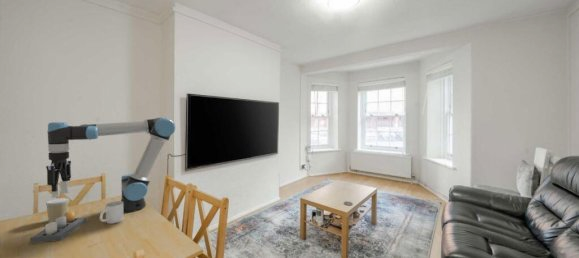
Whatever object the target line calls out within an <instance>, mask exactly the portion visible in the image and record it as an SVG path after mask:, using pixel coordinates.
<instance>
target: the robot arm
mask: <svg viewBox="0 0 579 258" xmlns="http://www.w3.org/2000/svg"><path fill="white" fill-rule="evenodd" d="M175 132H176V124H175V122H174V121H173V120H171V119H169V118H167V117H156V118H149V119H145V120H141V121H126V122H110V123H109V122H108V123H107V122H106V123H94V124H93V123H92V124H88V123H87V124H86V123H85V124H80V125H69V123H68V122H65V121H63V122H62V121H61V122H58V121H57V122H55V121H52V122H49V123H48V124H47V144H48V146H47V147H48V154H47V155H48V160H49V161H51V163H50V165H46V167H45V168H46V173H47V174H46V180H47V182H46V184H47V186H51V198H61V197H60V194H68V193H69V190H68V189H69V186H68V183H69V182H68V181H71V178H72V172H71V171H72V170H71V163H72V161H71V160H68V159H69V158H70V152H69V150H70V145H69V141H75V140H77V141H78V140H81V141H85V140H89V141H90V140H96V139H99V138H98V137H104V136H105V137H106V136H116V135H125V134H126V135H128V134H141V133H145V134H148V135H149V137H150V138H149V141H148V142H147V145H146V147H145V148H144V149H145V150H144V152H143V153H142V156H141V158H140V160H139V161H138V164H137V166H136V169H135V170H134V173H129V174H124V175H122V176H121V179H120V180H121V199H120V201H122V202H123V209H124V213H131V212H137V211H139V210H142V209H145V208H146V205H147V204H146V203H147V202H146V200H145V197H146V196H147V194H148V187H149V185H150V182H151V178H150V176H151V174H152V171H153V169H154V167H155V165H156V163H157V160H158V158H159V156H160V154H161V151H162V149H163V148H164V145H165V143H166V142H168V141H169V140H170V137H171V136H172V135H173V134H174V133H175ZM59 177H60V179H61V181H60V184H59Z"/></svg>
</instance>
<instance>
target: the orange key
mask: <svg viewBox="0 0 579 258" xmlns="http://www.w3.org/2000/svg"><path fill="white" fill-rule="evenodd" d="M75 213H76V212H75V211H74V210H72V211H68V212H67V213H65V216H66V223H71V222H74V221H75V218H76V217H75V216H76V214H75Z"/></svg>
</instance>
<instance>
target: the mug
mask: <svg viewBox="0 0 579 258" xmlns="http://www.w3.org/2000/svg"><path fill="white" fill-rule="evenodd" d="M124 213H125V212H124V209H123V202H122V201H121V200H117V201H112V202H109V203H107V204H105V208H104V209H102V210H101V211H100V213H99V220H100V222H103V223H104V222H105V223H107V224H111V225H112V224H117V223H120V222H121V221H123V220H124ZM104 214H105V218H104V217H103V216H104Z"/></svg>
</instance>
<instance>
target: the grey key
mask: <svg viewBox="0 0 579 258" xmlns="http://www.w3.org/2000/svg"><path fill="white" fill-rule="evenodd" d="M55 220H56V222H57V229H61V228H64V227H66V216H62V217H58V218H56V219H55Z"/></svg>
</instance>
